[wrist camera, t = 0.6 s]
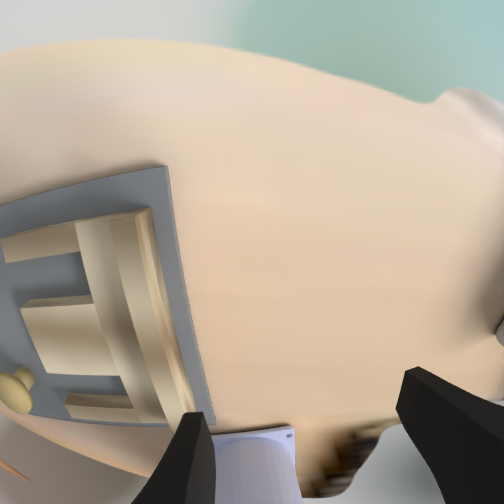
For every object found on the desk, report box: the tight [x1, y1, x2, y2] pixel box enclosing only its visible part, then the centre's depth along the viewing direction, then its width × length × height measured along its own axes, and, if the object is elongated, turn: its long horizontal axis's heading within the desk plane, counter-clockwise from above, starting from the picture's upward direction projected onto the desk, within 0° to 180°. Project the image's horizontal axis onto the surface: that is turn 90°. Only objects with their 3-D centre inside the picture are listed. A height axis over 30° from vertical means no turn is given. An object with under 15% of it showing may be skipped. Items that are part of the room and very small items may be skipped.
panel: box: [0, 207, 197, 434], centre depth 15 cm, size 14×10×3 cm
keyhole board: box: [0, 166, 216, 427], centre depth 15 cm, size 18×19×4 cm
